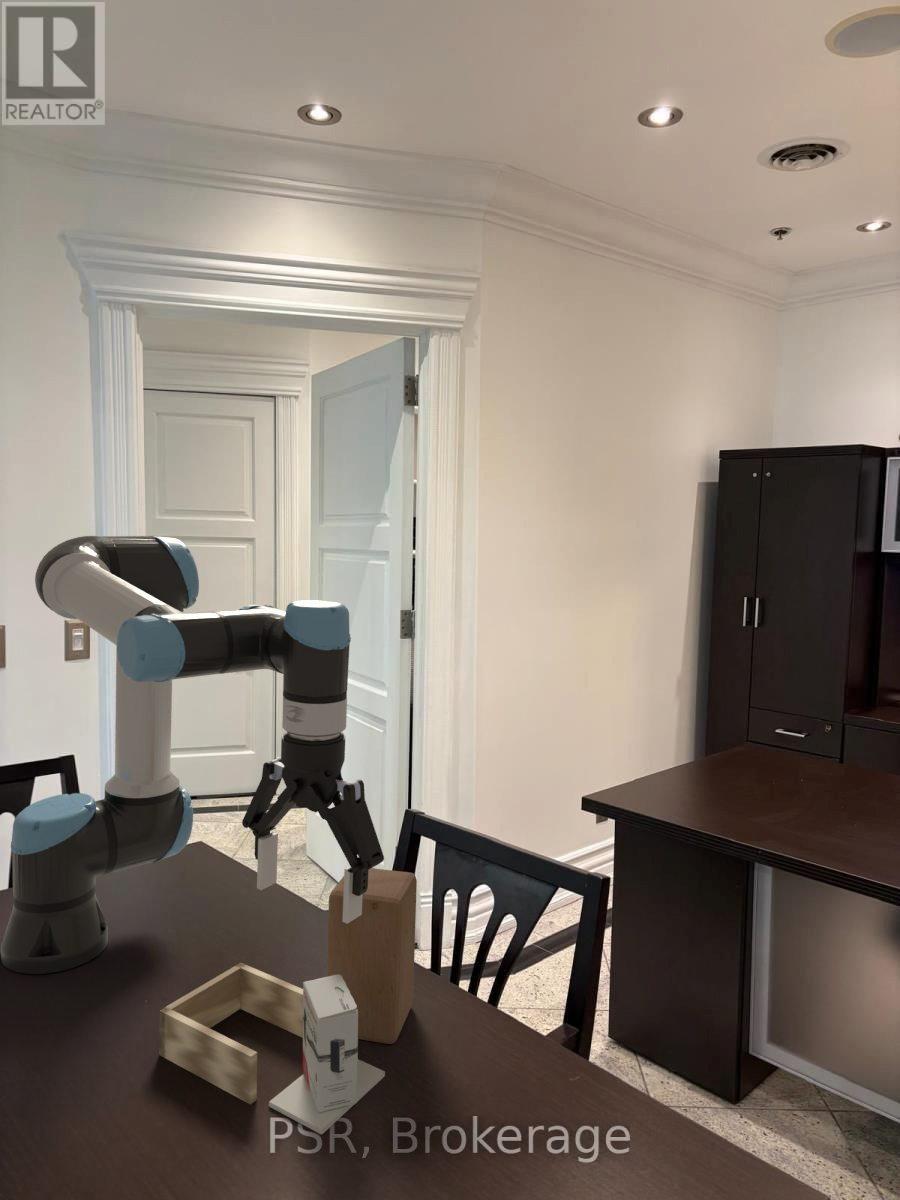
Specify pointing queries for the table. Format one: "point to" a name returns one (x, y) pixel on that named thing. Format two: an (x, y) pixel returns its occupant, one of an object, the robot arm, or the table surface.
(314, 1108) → the mat
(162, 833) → the robot arm
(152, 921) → the table surface
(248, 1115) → the table surface
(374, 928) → the wooden block
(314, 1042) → the ink box
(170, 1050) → the crate
